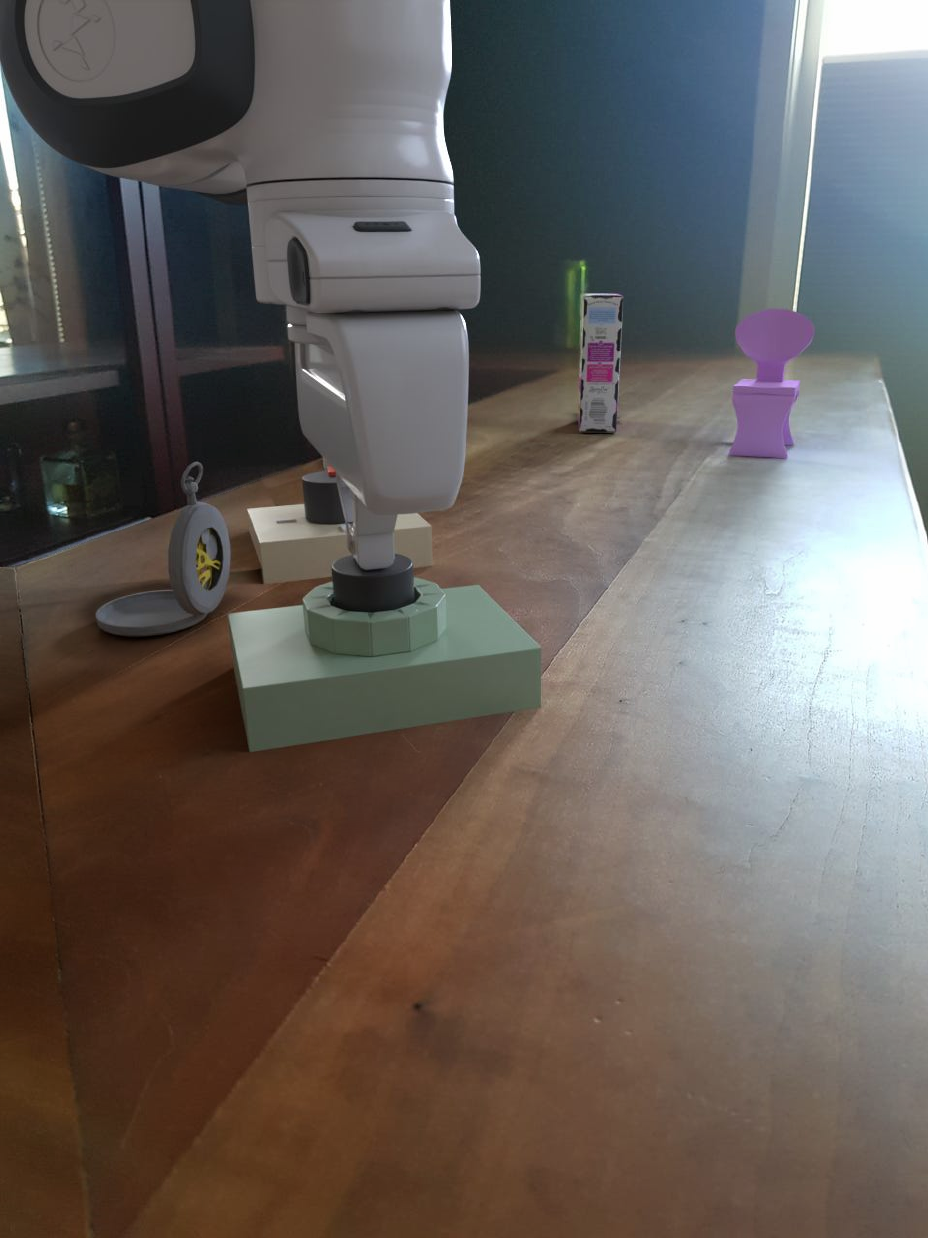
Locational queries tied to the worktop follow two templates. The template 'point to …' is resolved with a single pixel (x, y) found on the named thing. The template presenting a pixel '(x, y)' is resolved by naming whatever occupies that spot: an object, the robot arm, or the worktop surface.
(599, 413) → the candy bar box
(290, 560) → the dial panel
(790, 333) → the toy chair
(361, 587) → the black push button
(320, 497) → the dial
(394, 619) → the button base
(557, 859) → the worktop surface
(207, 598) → the pocket watch
